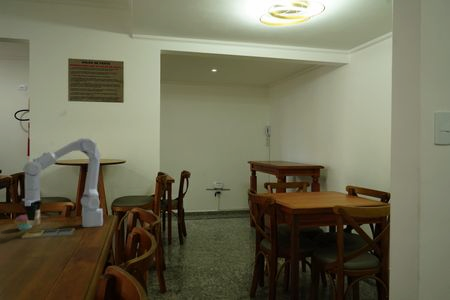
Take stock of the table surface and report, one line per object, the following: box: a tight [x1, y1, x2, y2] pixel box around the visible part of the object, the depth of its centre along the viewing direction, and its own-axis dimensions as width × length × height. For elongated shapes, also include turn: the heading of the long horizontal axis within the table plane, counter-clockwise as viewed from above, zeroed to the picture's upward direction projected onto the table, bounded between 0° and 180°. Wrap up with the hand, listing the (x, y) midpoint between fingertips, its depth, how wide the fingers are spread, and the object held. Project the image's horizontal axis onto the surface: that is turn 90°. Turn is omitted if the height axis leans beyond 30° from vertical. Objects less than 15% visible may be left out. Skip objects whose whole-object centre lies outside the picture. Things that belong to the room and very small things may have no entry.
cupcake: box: [14, 214, 33, 231], centre depth 156 cm, size 9×8×12 cm
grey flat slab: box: [20, 227, 76, 239], centre depth 146 cm, size 20×9×1 cm, turn 106°
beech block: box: [27, 209, 41, 226], centre depth 144 cm, size 4×4×6 cm
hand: (32, 219), depth 144 cm, fingers closed on beech block, 4 cm apart
